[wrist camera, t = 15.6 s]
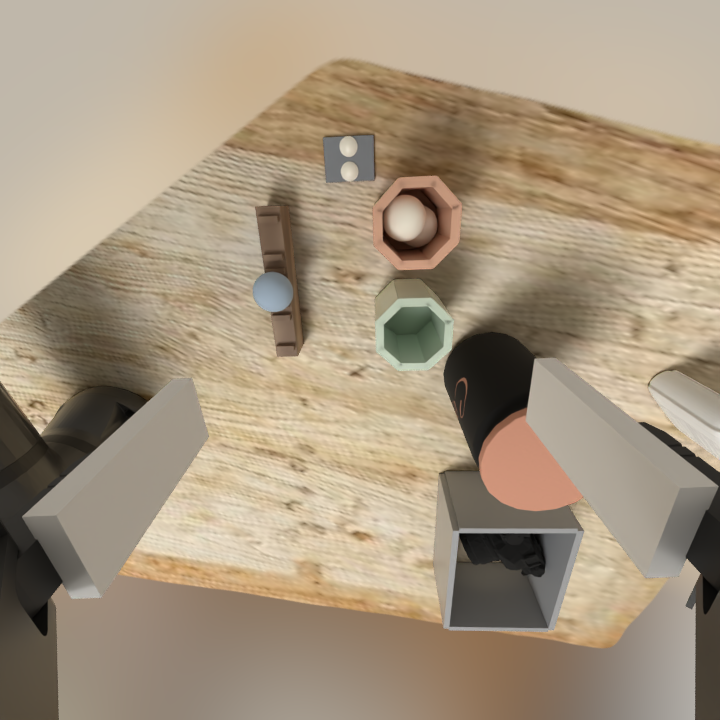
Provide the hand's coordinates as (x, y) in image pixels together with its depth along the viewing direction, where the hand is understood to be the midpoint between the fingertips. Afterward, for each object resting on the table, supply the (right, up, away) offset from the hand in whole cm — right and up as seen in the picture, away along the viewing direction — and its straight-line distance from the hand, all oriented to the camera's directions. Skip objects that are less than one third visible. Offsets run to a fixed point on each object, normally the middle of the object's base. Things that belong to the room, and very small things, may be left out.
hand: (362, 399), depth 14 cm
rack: (-9, +11, +27) cm, 31 cm away
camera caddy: (+20, -24, +42) cm, 52 cm away
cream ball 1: (+5, +15, +20) cm, 26 cm away
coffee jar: (+16, +1, +31) cm, 35 cm away
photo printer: (+41, -4, +32) cm, 52 cm away
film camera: (+20, -23, +42) cm, 51 cm away
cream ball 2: (+5, +16, +24) cm, 29 cm away
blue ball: (-9, +9, +24) cm, 27 cm away
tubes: (+3, +14, +26) cm, 29 cm away
